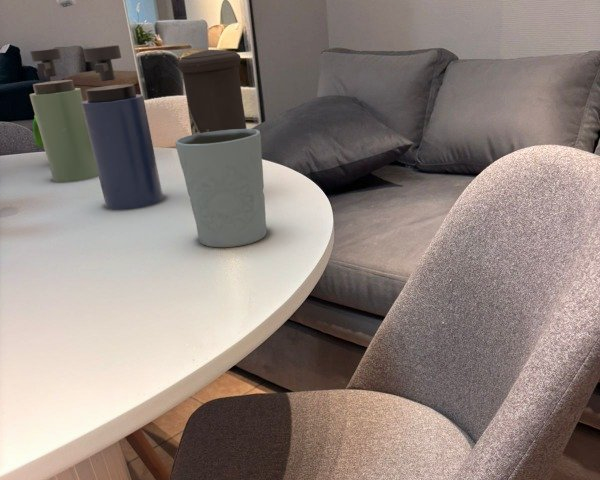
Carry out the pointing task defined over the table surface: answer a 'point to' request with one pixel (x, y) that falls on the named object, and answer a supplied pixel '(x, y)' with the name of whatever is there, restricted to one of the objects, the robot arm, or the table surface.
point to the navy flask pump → (103, 60)
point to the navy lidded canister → (122, 146)
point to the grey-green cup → (225, 185)
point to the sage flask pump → (46, 60)
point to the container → (213, 91)
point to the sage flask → (64, 130)
